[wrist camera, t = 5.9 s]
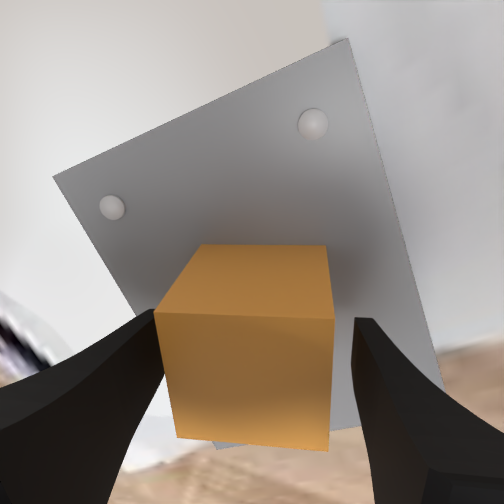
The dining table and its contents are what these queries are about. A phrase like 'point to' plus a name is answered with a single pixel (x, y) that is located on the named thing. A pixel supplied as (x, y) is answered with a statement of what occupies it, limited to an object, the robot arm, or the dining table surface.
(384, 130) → the dining table surface
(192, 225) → the plate
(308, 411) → the orange cube
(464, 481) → the robot arm
